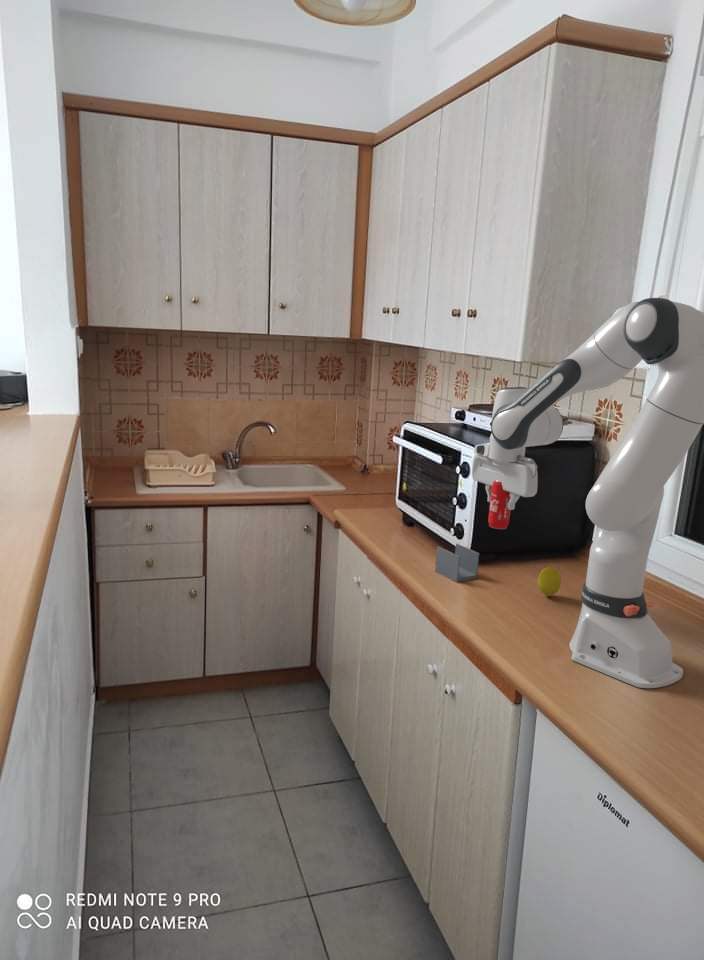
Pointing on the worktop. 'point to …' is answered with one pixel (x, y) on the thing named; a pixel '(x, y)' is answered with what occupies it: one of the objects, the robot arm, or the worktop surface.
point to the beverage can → (499, 507)
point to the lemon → (549, 581)
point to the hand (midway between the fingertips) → (500, 505)
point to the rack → (457, 563)
